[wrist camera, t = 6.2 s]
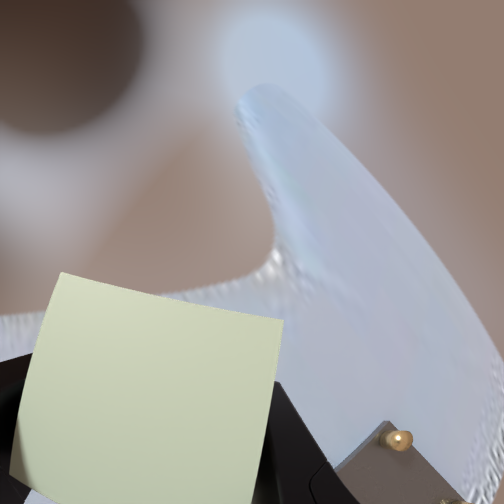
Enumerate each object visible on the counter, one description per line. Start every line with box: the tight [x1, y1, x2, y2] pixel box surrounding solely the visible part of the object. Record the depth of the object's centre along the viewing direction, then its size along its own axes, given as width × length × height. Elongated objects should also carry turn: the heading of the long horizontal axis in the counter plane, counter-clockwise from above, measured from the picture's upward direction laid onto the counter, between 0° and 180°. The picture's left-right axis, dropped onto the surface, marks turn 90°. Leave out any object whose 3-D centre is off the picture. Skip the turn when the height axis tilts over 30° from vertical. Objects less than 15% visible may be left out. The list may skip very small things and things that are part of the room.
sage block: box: [9, 272, 284, 504], centre depth 9 cm, size 5×5×10 cm
